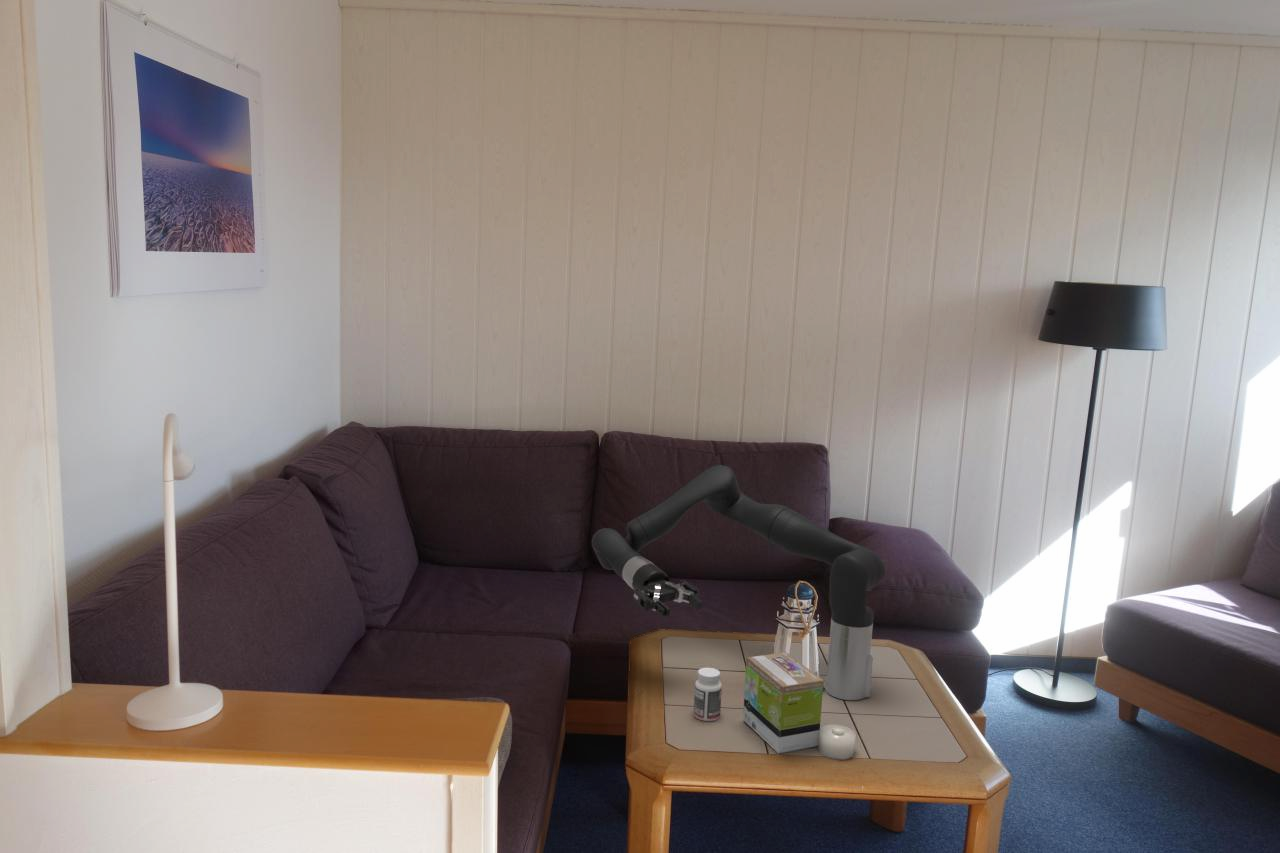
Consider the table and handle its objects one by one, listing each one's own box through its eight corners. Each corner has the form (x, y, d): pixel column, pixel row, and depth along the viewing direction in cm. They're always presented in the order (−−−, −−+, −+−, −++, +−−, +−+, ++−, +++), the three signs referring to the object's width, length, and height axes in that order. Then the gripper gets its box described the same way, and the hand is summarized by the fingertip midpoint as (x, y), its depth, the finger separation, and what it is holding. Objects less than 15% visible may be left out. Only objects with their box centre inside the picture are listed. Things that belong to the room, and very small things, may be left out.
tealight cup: (848, 742, 203) (850, 720, 202) (858, 760, 196) (860, 737, 195) (814, 742, 202) (816, 720, 201) (823, 760, 195) (825, 737, 194)
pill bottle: (720, 711, 214) (723, 667, 212) (719, 723, 208) (722, 678, 207) (693, 708, 214) (696, 665, 213) (692, 720, 209) (695, 676, 207)
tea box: (740, 721, 210) (745, 655, 207) (781, 714, 214) (786, 649, 211) (777, 755, 196) (782, 684, 193) (820, 747, 200) (826, 678, 197)
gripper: (668, 587, 234) (708, 619, 221) (617, 597, 227) (655, 631, 214) (672, 558, 232) (712, 589, 219) (620, 568, 224) (658, 600, 211)
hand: (684, 609), depth 216 cm, fingers open, 8 cm apart
